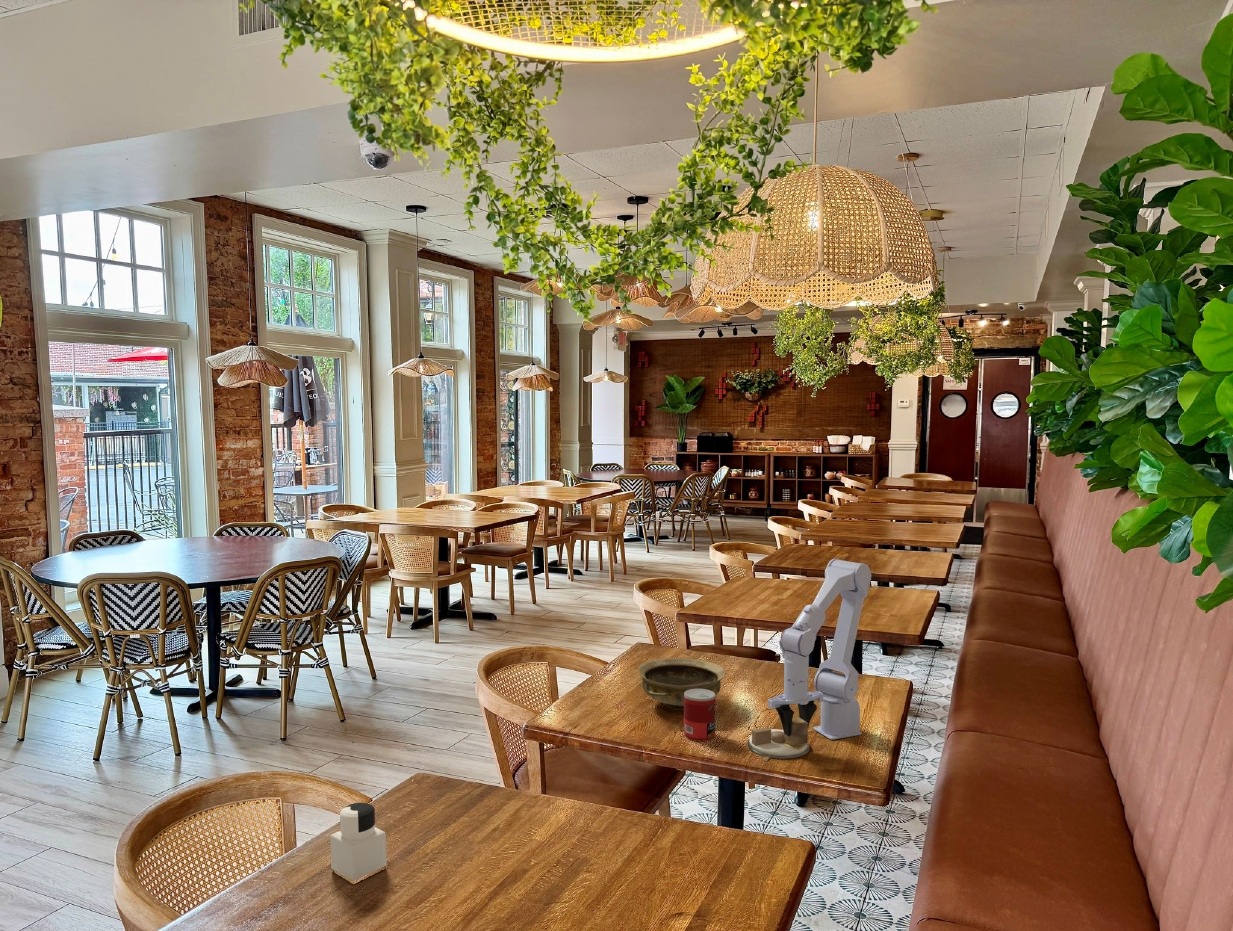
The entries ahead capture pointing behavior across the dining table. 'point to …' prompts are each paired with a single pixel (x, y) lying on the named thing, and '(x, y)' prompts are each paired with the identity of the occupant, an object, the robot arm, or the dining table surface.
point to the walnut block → (798, 732)
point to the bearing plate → (778, 756)
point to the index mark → (766, 758)
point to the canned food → (699, 714)
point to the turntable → (774, 743)
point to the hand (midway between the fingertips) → (795, 733)
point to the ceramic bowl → (678, 679)
